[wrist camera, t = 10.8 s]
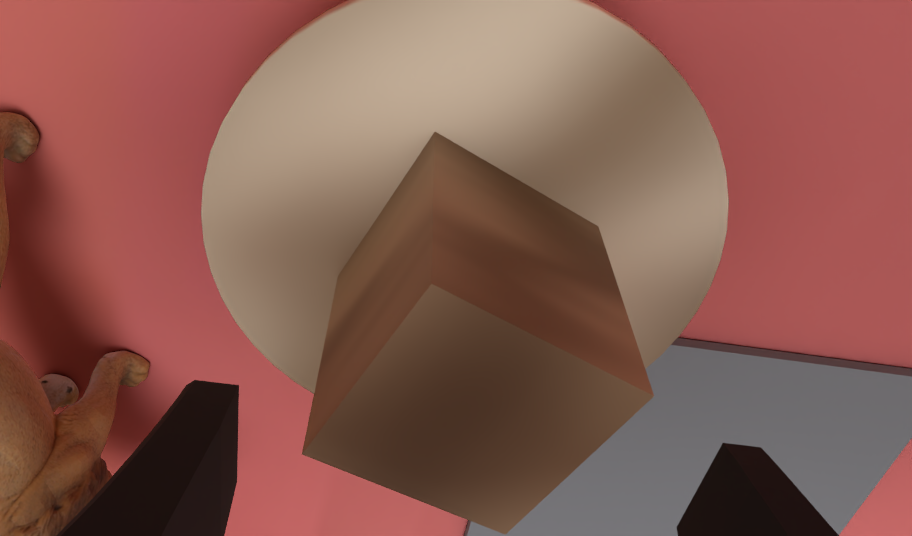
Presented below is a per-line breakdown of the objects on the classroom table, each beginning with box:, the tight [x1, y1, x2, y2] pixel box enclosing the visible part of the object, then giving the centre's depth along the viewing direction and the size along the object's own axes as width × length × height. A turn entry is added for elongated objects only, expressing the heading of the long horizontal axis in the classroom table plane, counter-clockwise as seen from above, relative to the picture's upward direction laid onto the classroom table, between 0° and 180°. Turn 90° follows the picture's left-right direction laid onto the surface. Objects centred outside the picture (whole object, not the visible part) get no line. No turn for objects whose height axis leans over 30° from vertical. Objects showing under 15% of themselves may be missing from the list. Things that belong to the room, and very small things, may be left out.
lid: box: [201, 0, 729, 535], centre depth 14 cm, size 11×11×6 cm
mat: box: [464, 338, 912, 536], centre depth 27 cm, size 14×14×1 cm
